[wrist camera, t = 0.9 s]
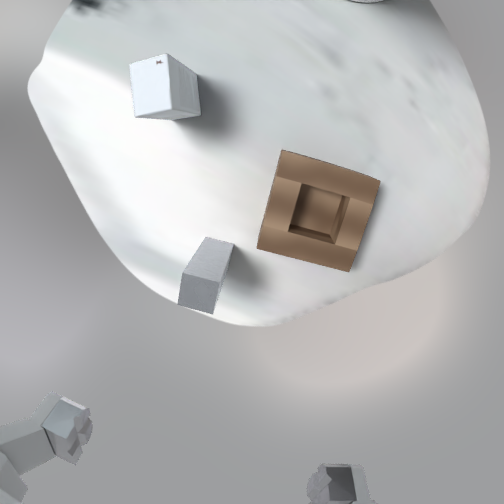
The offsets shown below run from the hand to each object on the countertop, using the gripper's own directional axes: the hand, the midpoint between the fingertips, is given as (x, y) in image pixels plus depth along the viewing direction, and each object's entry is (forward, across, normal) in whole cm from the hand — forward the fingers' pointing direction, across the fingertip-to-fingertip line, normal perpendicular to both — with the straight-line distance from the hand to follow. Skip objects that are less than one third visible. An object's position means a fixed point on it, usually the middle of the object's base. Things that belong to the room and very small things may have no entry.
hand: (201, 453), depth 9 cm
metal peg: (+35, +4, +6) cm, 36 cm away
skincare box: (+35, +13, -14) cm, 39 cm away
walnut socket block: (+35, -7, -4) cm, 36 cm away
